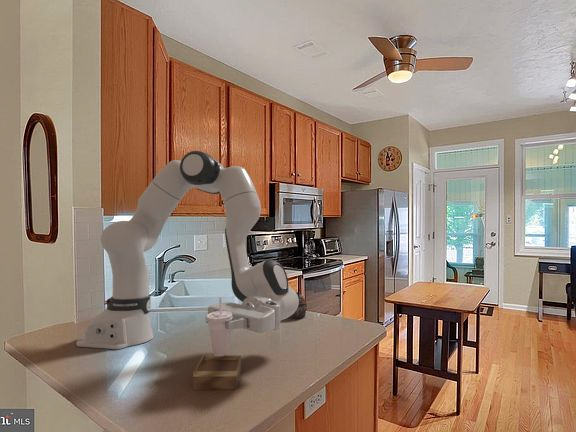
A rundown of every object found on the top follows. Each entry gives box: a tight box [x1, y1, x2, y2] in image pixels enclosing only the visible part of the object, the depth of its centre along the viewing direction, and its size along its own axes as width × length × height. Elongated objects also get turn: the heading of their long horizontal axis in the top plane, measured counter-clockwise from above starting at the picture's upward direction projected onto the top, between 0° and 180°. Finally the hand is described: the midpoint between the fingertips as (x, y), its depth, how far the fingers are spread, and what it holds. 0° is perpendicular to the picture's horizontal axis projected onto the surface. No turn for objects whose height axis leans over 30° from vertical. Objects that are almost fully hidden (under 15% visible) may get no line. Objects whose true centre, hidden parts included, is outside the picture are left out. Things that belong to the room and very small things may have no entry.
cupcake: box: [287, 291, 308, 320], centre depth 141 cm, size 10×10×10 cm
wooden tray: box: [192, 354, 242, 391], centre depth 84 cm, size 10×10×4 cm
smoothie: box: [205, 296, 233, 357], centre depth 84 cm, size 6×6×14 cm
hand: (217, 323), depth 83 cm, fingers closed on smoothie, 6 cm apart
